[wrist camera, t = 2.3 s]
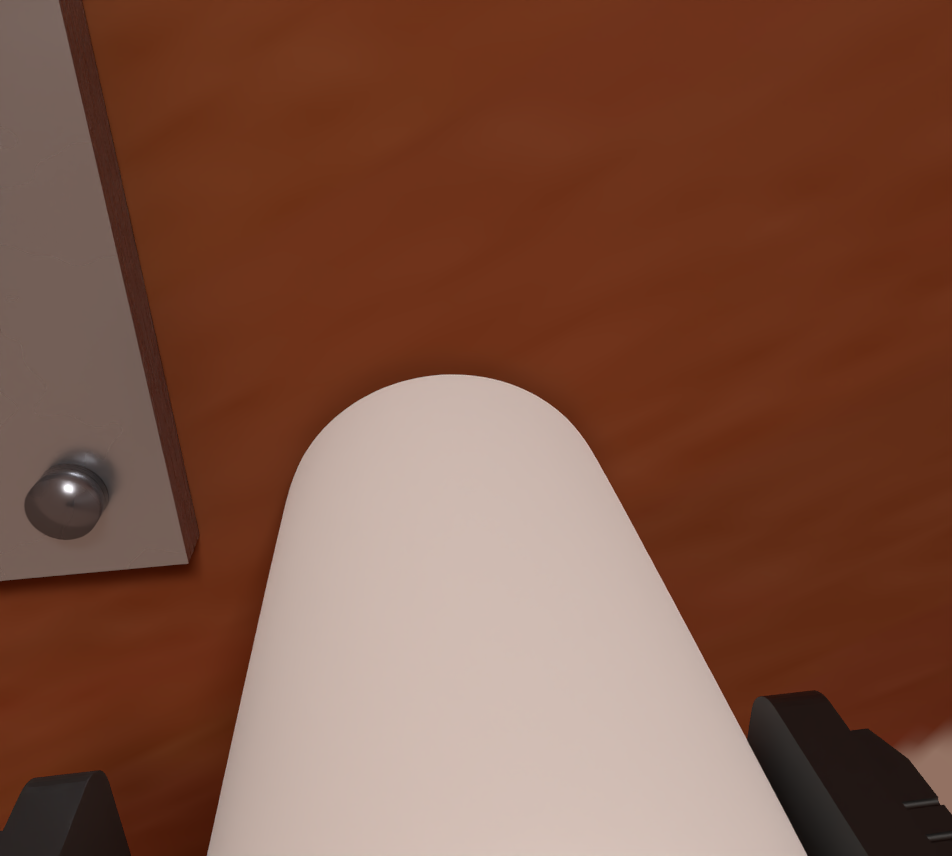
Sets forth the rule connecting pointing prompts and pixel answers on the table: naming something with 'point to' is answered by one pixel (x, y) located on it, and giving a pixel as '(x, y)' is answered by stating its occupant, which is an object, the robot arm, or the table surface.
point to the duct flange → (75, 326)
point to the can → (477, 656)
